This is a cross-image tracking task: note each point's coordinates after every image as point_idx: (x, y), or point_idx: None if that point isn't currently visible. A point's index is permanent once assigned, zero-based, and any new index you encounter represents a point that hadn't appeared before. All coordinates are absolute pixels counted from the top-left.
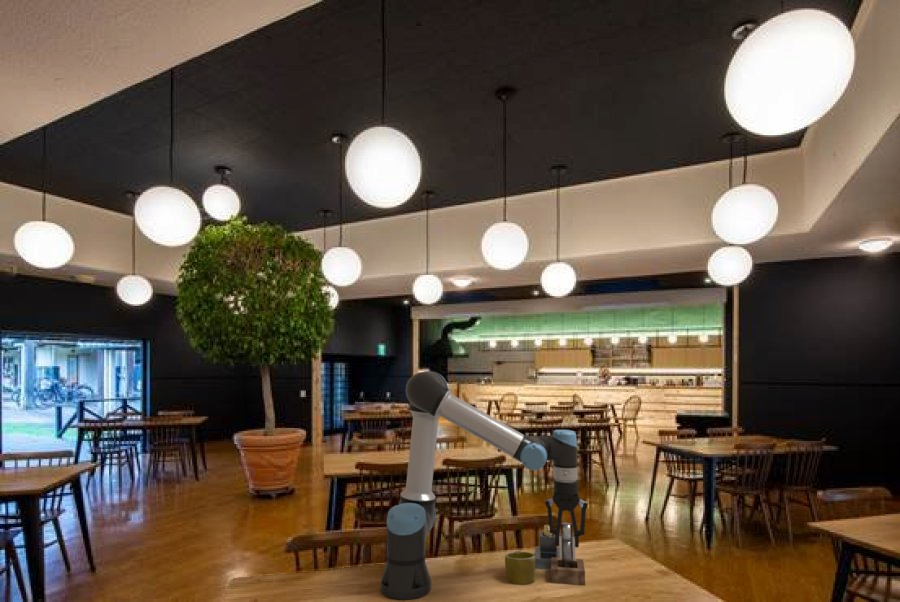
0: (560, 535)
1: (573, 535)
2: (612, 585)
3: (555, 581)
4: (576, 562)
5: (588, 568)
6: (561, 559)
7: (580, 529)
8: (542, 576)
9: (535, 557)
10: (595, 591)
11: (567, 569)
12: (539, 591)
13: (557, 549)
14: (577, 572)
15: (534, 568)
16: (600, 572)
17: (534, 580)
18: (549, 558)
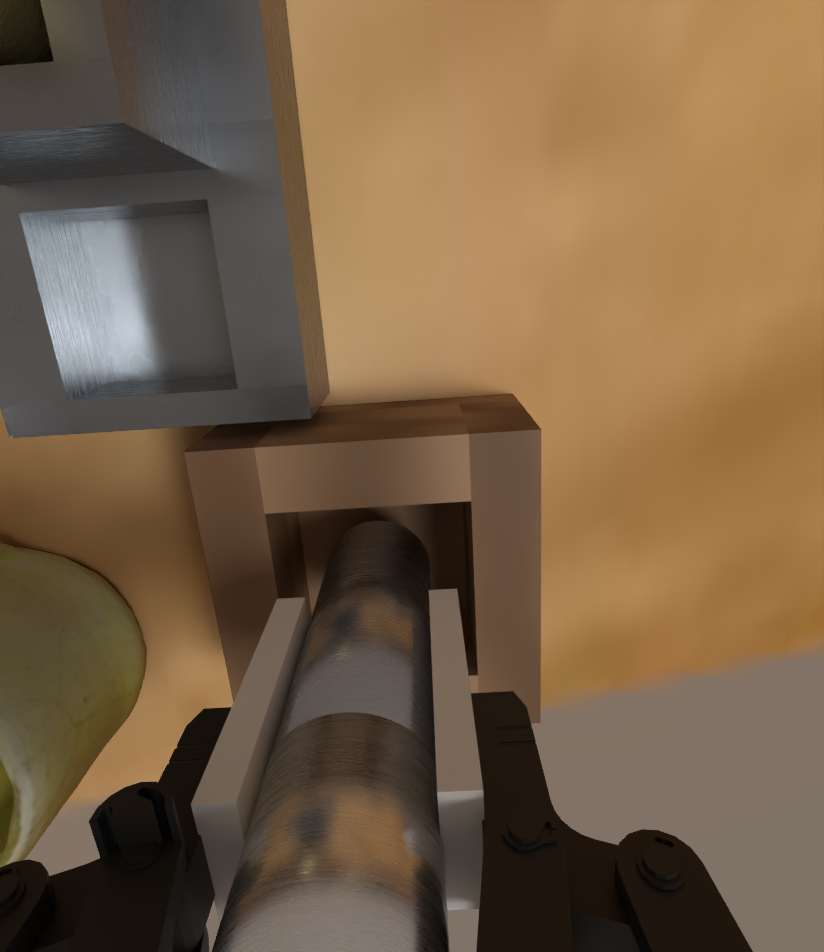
0: (233, 878)
1: (463, 828)
2: (731, 529)
3: None
4: (464, 495)
5: (571, 184)
6: (303, 494)
7: (637, 932)
8: (172, 493)
9: (10, 398)
10: (585, 656)
11: None
12: None
13: (197, 8)
14: None
15: (94, 733)
16: (679, 266)
17: (139, 683)
18: (151, 211)
